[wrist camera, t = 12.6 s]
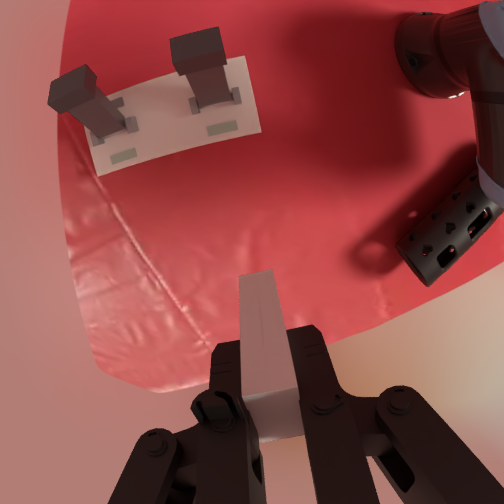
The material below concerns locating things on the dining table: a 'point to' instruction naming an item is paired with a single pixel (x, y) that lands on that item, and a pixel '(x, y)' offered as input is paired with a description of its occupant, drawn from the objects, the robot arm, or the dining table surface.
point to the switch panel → (174, 119)
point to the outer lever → (85, 102)
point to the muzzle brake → (448, 230)
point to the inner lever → (202, 64)
